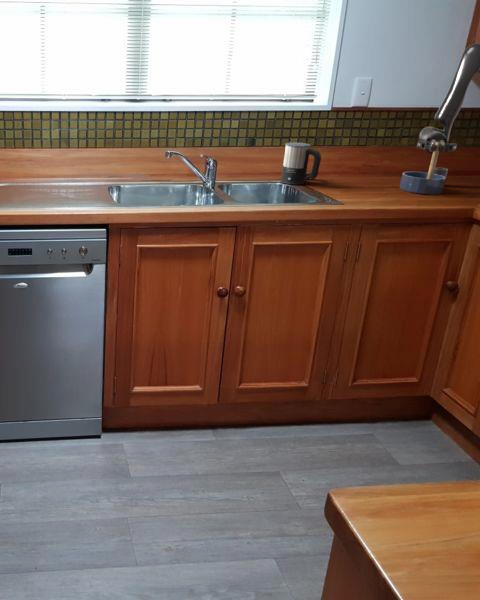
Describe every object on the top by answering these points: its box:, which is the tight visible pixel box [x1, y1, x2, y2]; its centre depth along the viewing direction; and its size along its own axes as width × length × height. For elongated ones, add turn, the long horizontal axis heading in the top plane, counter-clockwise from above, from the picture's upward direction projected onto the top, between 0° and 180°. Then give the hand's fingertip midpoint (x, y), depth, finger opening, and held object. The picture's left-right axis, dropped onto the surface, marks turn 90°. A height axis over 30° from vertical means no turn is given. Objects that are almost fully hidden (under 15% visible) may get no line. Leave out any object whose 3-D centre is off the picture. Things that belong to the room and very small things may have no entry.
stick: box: [427, 142, 441, 179], centre depth 222 cm, size 2×2×16 cm
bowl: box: [399, 171, 446, 196], centre depth 227 cm, size 14×14×6 cm
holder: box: [434, 167, 449, 184], centre depth 235 cm, size 5×5×7 cm
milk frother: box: [279, 142, 322, 185], centre depth 237 cm, size 14×16×15 cm
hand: (437, 148), depth 217 cm, fingers closed on stick, 2 cm apart
